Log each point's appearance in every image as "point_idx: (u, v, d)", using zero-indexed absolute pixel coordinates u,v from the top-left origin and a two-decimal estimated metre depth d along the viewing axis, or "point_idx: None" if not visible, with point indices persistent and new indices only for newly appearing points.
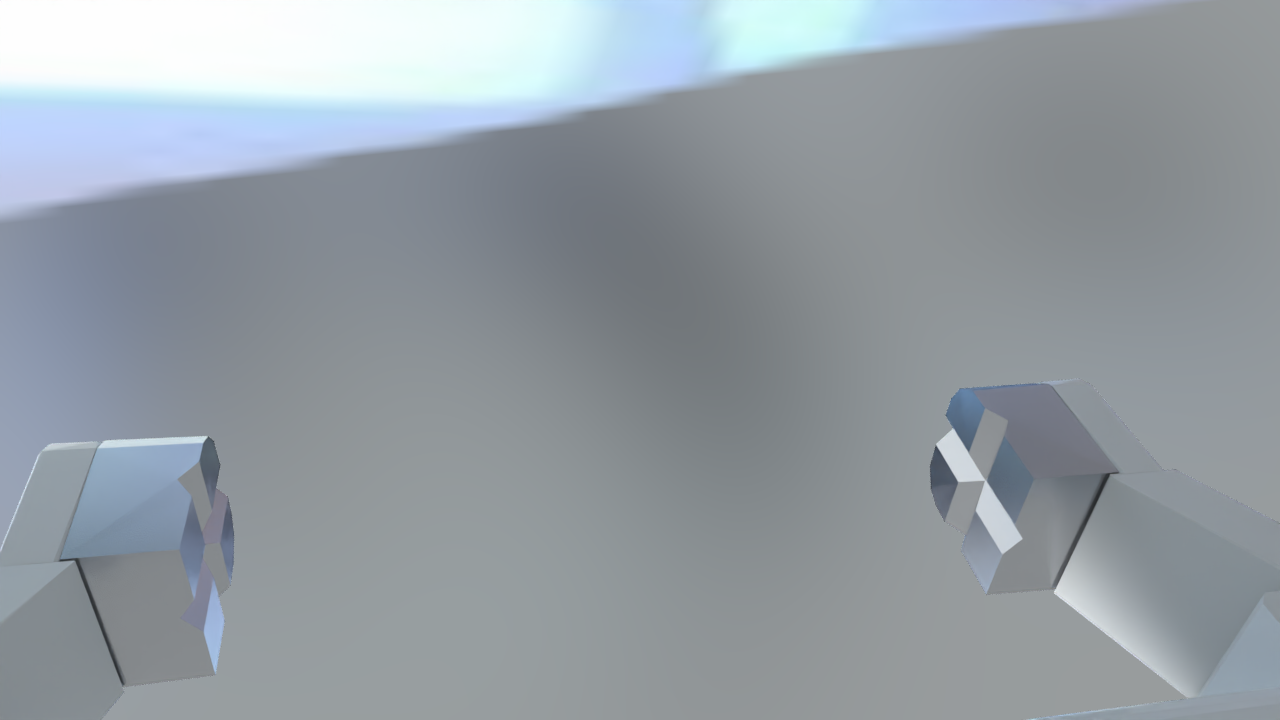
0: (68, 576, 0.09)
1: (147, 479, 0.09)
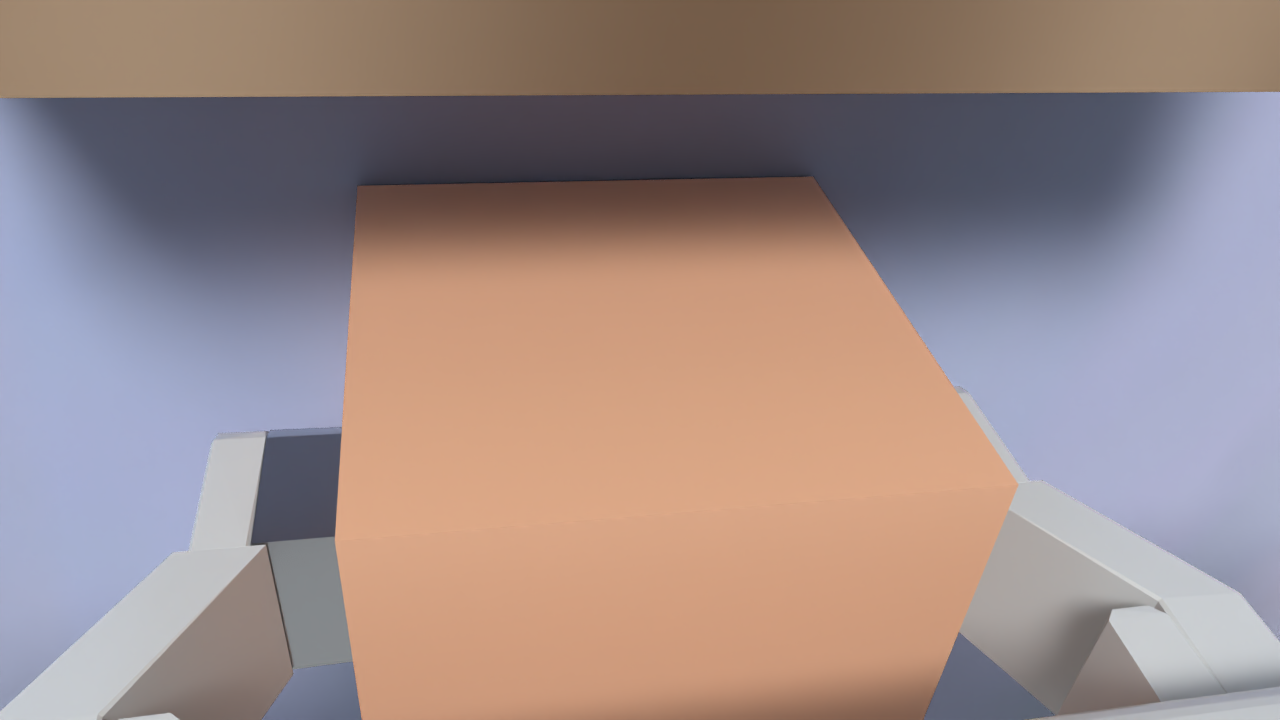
0: (260, 559, 0.09)
1: (320, 467, 0.10)
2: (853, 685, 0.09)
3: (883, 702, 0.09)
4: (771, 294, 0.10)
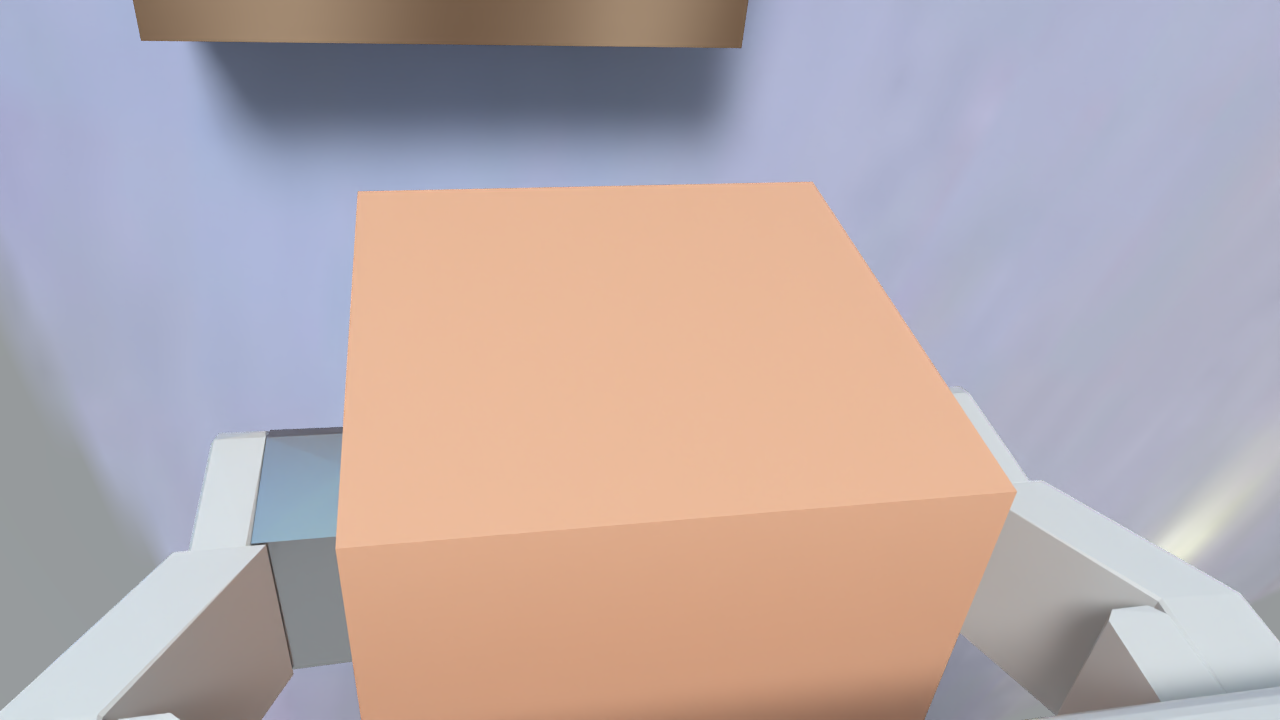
0: (259, 559, 0.09)
1: (319, 466, 0.10)
2: (853, 690, 0.09)
3: (882, 707, 0.09)
4: (772, 302, 0.10)
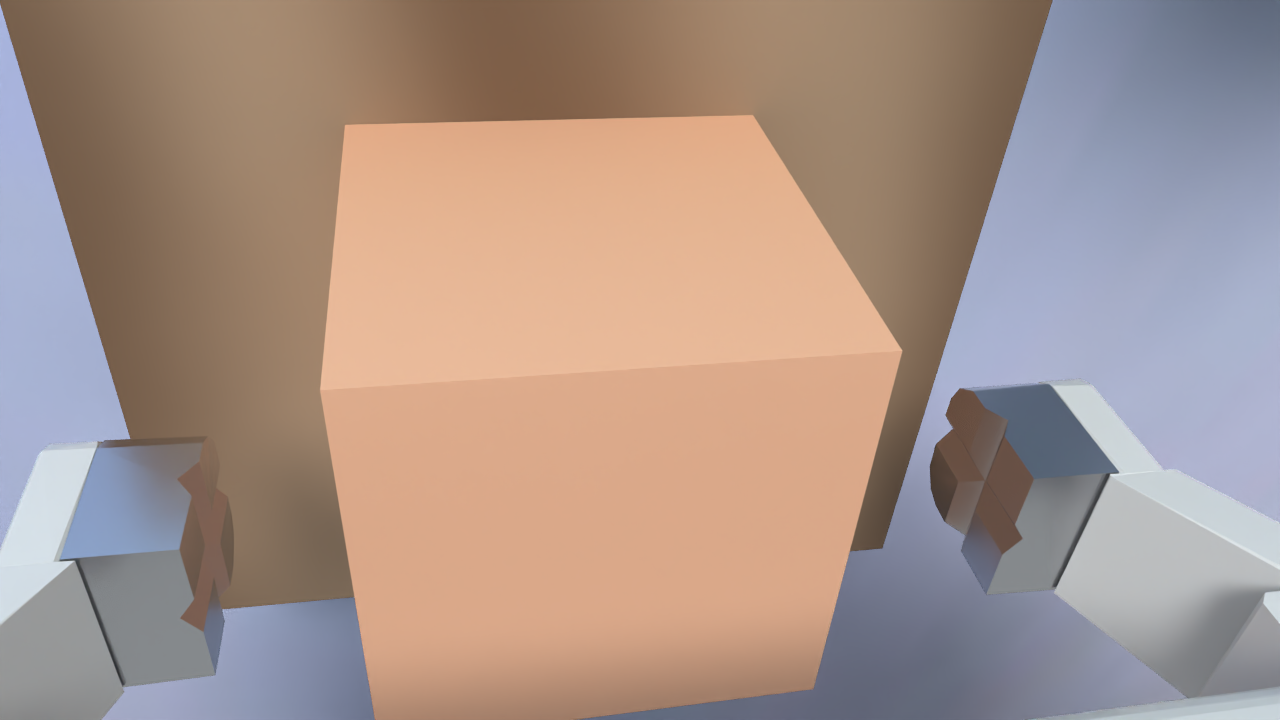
0: (68, 576, 0.09)
1: (147, 479, 0.09)
2: (776, 541, 0.10)
3: (805, 560, 0.11)
4: (705, 209, 0.11)
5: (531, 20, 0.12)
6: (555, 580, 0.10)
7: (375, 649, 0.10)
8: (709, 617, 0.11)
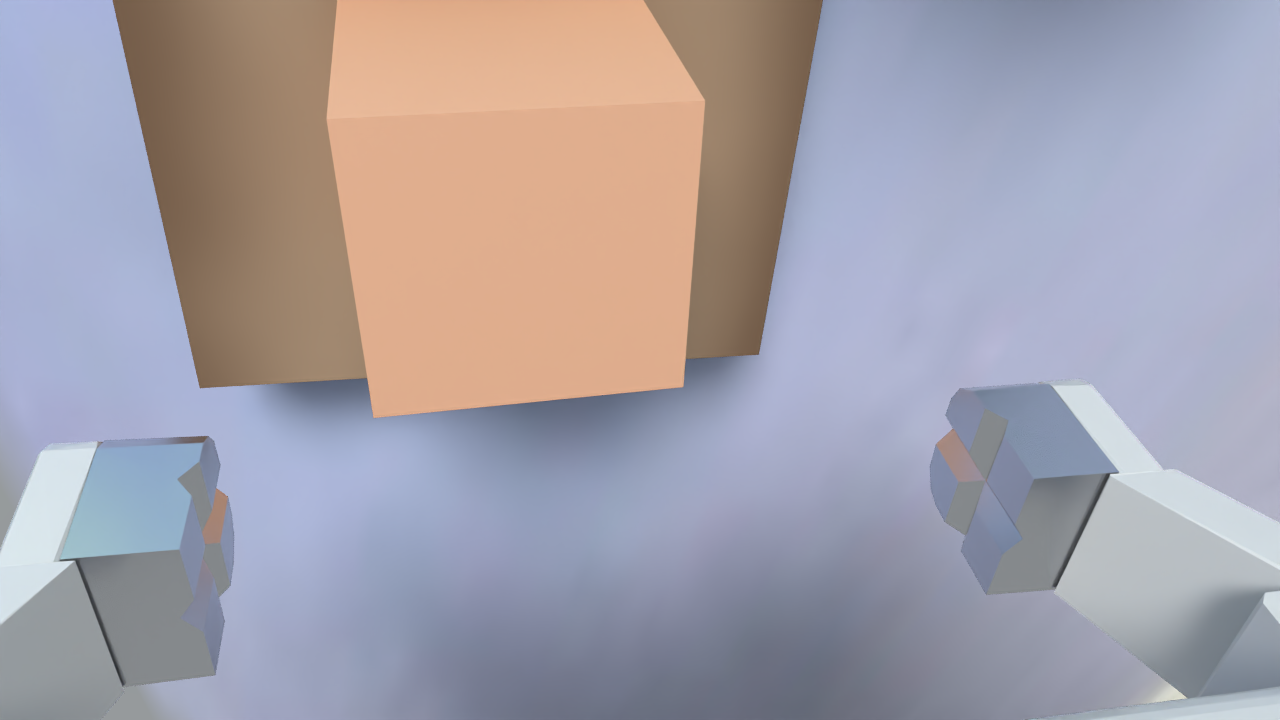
0: (68, 576, 0.09)
1: (147, 479, 0.09)
2: (639, 253, 0.15)
3: (661, 270, 0.16)
4: (588, 35, 0.16)
5: None
6: (488, 280, 0.15)
7: (368, 331, 0.15)
8: (599, 317, 0.16)
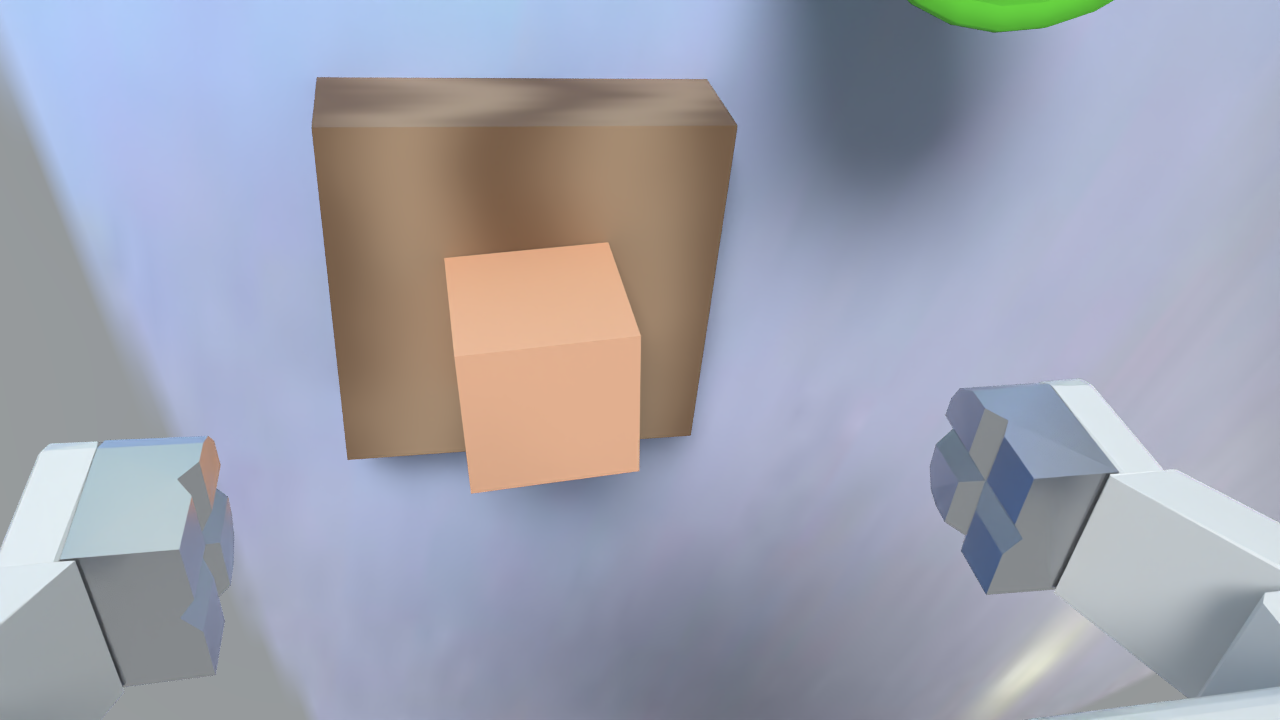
0: (68, 576, 0.09)
1: (147, 479, 0.09)
2: (610, 406, 0.29)
3: (623, 413, 0.30)
4: (582, 287, 0.30)
5: (515, 201, 0.30)
6: (532, 423, 0.29)
7: (470, 451, 0.29)
8: (591, 438, 0.30)
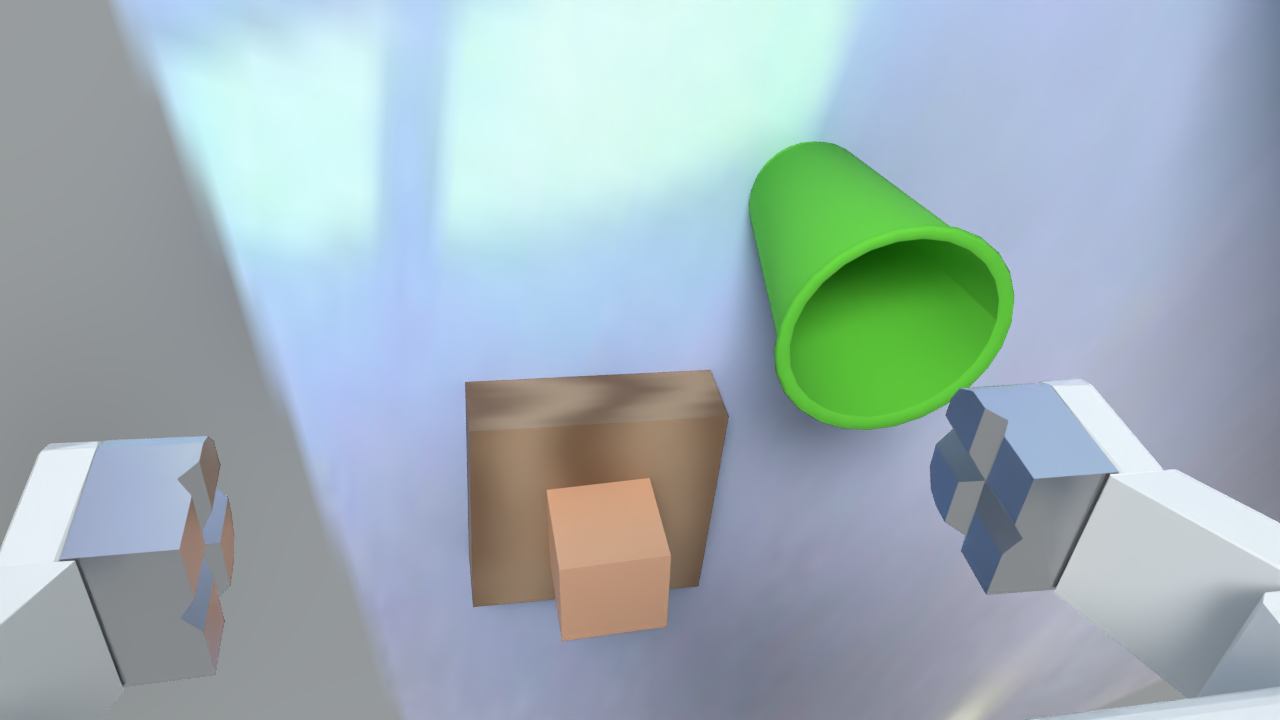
0: (68, 576, 0.09)
1: (147, 479, 0.09)
2: (651, 592, 0.47)
3: (658, 596, 0.48)
4: (634, 515, 0.48)
5: (589, 462, 0.49)
6: (602, 602, 0.47)
7: (563, 618, 0.47)
8: (638, 609, 0.48)
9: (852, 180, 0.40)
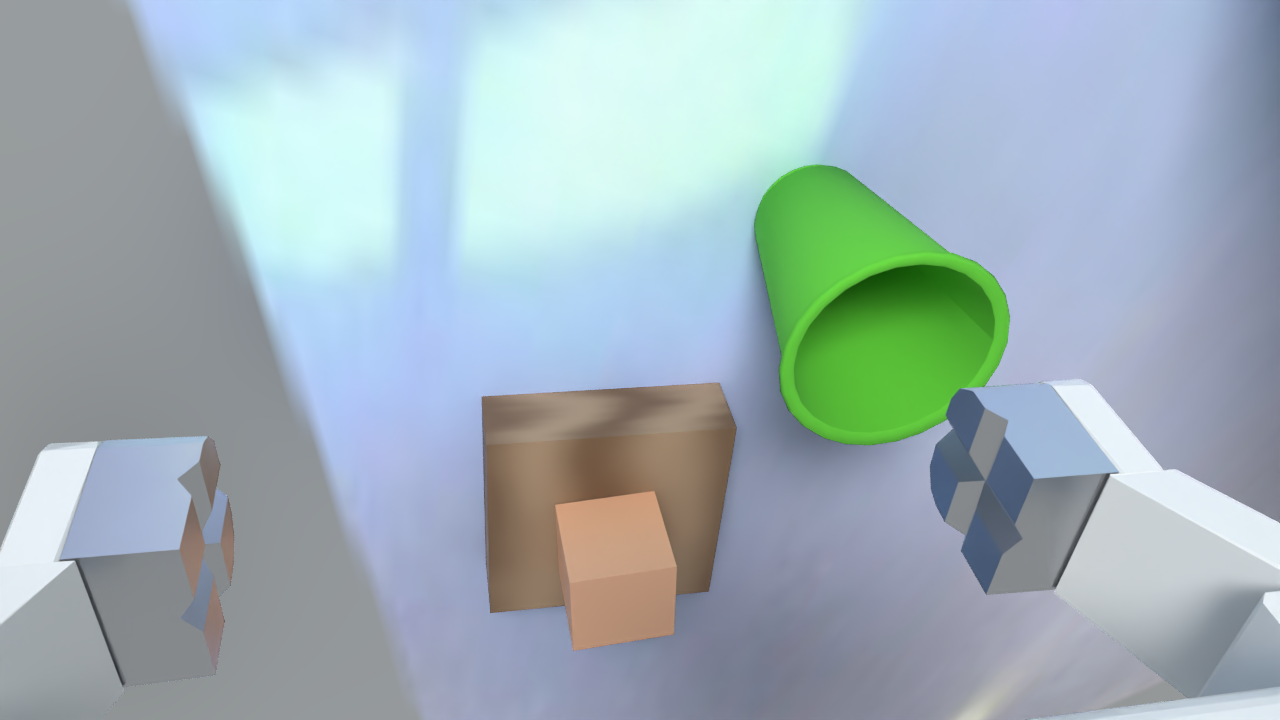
0: (68, 576, 0.09)
1: (147, 479, 0.09)
2: (658, 602, 0.49)
3: (665, 605, 0.49)
4: (640, 528, 0.50)
5: (602, 473, 0.50)
6: (611, 613, 0.49)
7: (574, 629, 0.49)
8: (645, 618, 0.50)
9: (853, 205, 0.41)
